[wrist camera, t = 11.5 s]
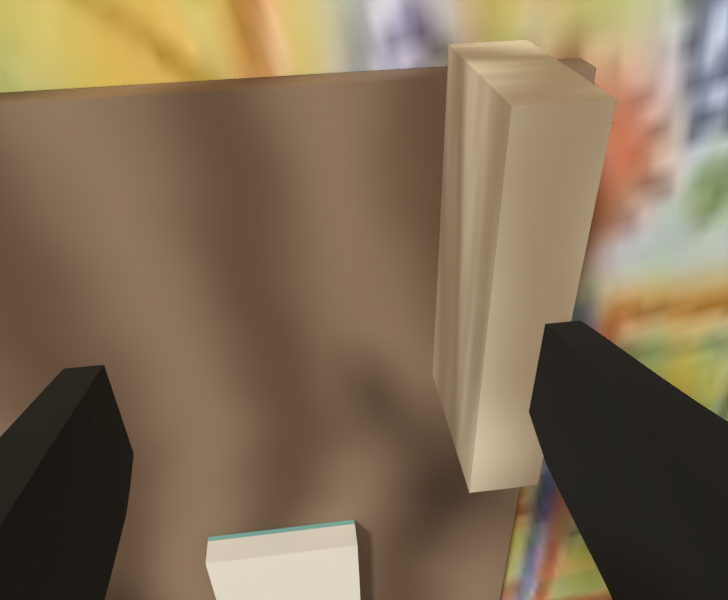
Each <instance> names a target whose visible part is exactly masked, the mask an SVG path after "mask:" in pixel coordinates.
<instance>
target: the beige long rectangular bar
mask: <svg viewBox="0 0 728 600" xmlns="http://www.w3.org/2000/svg"><path fill="white" fill-rule="evenodd" d="M616 101H617V99H615V98H614V97H612V96H611V95H609V94H608V93H606V92H605V91H603V90H602V89H600V88H599V87H597V86H596V85H594V84H593V83H591V82H590V81H588V80H587V79H585V78H584V77H582V76H581V75H579V74H578V73H576V72H575V71H573V70H572V69H570V68H569V67H567V66H566V65H564V64H563V63H561V62H560V61H558V60H557V59H555V58H553V57H552V56H550V55H549V54H547V53H546V52H544V51H543V50H541V49H540V48H538V47H537V46H535V45H534V44H532V43H531V42H529V41H528V40H516V41H498V42H480V43H463V44H449V51H448V72H447V92H446V113H445V134H444V154H443V175H442V195H441V216H440V236H439V257H438V278H437V298H436V319H435V339H434V360H433V379H434V382H435V385H436V388H437V391H438V394H439V398H440V401H441V404H442V407H443V410H444V413H445V417H446V420H447V423H448V426H449V429H450V433H451V436H452V439H453V442H454V445H455V448H456V452H457V455H458V458H459V461H460V464H461V468H462V471H463V474H464V477H465V480H466V483H467V487H468V490H469V493H473V492H481V491H490V490H498V489H507V488H515V487H524V486H532V485H538V481H539V476H540V471H541V466H542V461H543V457H544V455H543V453H542V450H541V447H540V444H539V442H538V439H537V435H536V432H535V429H534V426H533V423H532V420H531V417H530V414H529V408H530V403H531V397H532V392H533V386H534V381H535V376H536V370H537V365H538V360H539V354H540V349H541V343H542V338H543V333H544V327H545V324H548V323H559V322H570V321H571V320H572V315H573V310H574V305H575V300H576V296H577V291H578V286H579V281H580V276H581V271H582V266H583V261H584V257H585V252H586V247H587V242H588V237H589V232H590V227H591V222H592V218H593V213H594V208H595V203H596V198H597V193H598V188H599V183H600V179H601V174H602V169H603V164H604V159H605V154H606V149H607V144H608V140H609V135H610V130H611V125H612V120H613V115H614V110H615V105H616Z"/></svg>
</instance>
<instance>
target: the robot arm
mask: <svg viewBox="0 0 728 600" xmlns="http://www.w3.org/2000/svg"><path fill="white" fill-rule="evenodd" d="M529 414H530V417H531V420H532V423H533V426H534V429H535V432H536V435H537V439H538V442H539V444H540V447H541V450H542V453H543V455H544V458H545V461H546V464H547V466H548V468H549V470H550V472H551V475H552V477H553V479H554V481H555V483H556V485H557V487H558V489H559V491H560V493H561V495H562V497H563V499H564V501H565V503H566V505H567V507H568V509H569V511H570V513H571V515H572V517H573V519H574V521H575V523H576V525H577V527H578V529H579V531H580V533H581V535H582V537H583V539H584V541H585V543H586V545H587V547H588V549H589V551H590V553H591V555H592V557H593V559H594V561H595V563H596V565H597V567H598V569H599V571H600V573H601V575H602V577H603V579H604V581H605V583H606V586H607V588H608V590H609V592H610V594H611V597H612V599H613V600H728V421H726V420H724V419H723V418H721V417H719V416H718V415H716V414H715V413H713V412H712V411H710V410H709V409H707V408H706V407H704V406H703V405H701V404H700V403H698V402H697V401H695V400H694V399H692V398H691V397H689V396H688V395H686V394H685V393H683V392H682V391H680V390H679V389H677V388H676V387H674V386H673V385H672V384H670V383H669V382H667V381H666V380H664V379H663V378H661V377H660V376H659V375H657V374H656V373H654V372H653V371H652V370H650V369H649V368H647V367H646V366H645V365H643V364H642V363H640V362H639V361H637V360H636V359H635V358H633V357H632V356H630V355H629V354H628V353H626V352H625V351H623V350H622V349H621V348H619V347H618V346H617V345H615V344H614V343H612V342H611V341H609V340H608V339H607V338H605V337H604V336H602V335H601V334H600V333H598V332H597V331H595V330H594V329H592V328H591V327H589V326H588V325H586V324H585V323H583V322H581V321H570V322H559V323H548V324H545V327H544V333H543V338H542V343H541V349H540V354H539V360H538V365H537V370H536V376H535V381H534V386H533V392H532V397H531V403H530V408H529ZM133 457H134V453H133V450H132V447H131V444H130V441H129V438H128V435H127V432H126V429H125V426H124V423H123V420H122V417H121V414H120V411H119V408H118V405H117V402H116V399H115V396H114V393H113V390H112V387H111V384H110V381H109V378H108V375H107V372H106V369H105V366H104V365H96V366H85V367H74V368H64V369H63V370H62V371H61V372H60V373H59V374H58V375H57V376H56V377H55V378H54V379H53V380H52V381H51V383H50V384H49V385H48V386H47V387H46V388H45V389H44V390H43V391H42V392H41V393H40V394H39V395H38V397H37V398H36V399H35V400H34V401H33V402H32V403H31V404H30V405H29V406H28V407H27V409H26V410H25V411H24V412H23V413H22V414H21V415H20V416H19V417H18V418H17V419H16V420H15V421H14V423H13V424H12V425H11V426H10V427H9V428H8V429H7V430H6V431H5V432H4V433H3V434H2V435H1V436H0V600H105V597H106V593H107V589H108V585H109V581H110V578H111V574H112V570H113V566H114V562H115V558H116V554H117V550H118V546H119V542H120V538H121V534H122V530H123V526H124V522H125V518H126V514H127V507H128V499H129V492H130V484H131V475H132V466H133Z"/></svg>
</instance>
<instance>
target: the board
mask: <svg viewBox="0 0 728 600" xmlns="http://www.w3.org/2000/svg"><path fill="white" fill-rule="evenodd" d="M558 61H560V62H561V63H563V64H564V65H566V66H567V67H569V68H570V69H572V70H573V71H575V72H576V73H578V74H579V75H581V76H582V77H584V78H585V79H587V80H588V81H590V82H591V83H594V78H595V72H596V67H594V66H592V65H591V64H589V63H588V62H586V61H584V60H583V59H581V58H580V59H563V60H558ZM447 72H448V66H445V67H428V68H412V69H395V70H378V71H361V72H344V73H327V74H310V75H294V76H277V77H260V78H243V79H226V80H209V81H193V82H176V83H159V84H142V85H125V86H108V87H91V88H75V89H58V90H41V91H24V92H7V93H0V436H1V435H2V434H3V433H4V432H5V431H6V430H7V429H8V428H9V427H10V426H11V425H12V424H13V423H14V421H15V420H16V419H17V418H18V417H19V416H20V415H21V414H22V413H23V412H24V411H25V410H26V409H27V407H28V406H29V405H30V404H31V403H32V402H33V401H34V400H35V399H36V398H37V397H38V395H39V394H40V393H41V392H42V391H43V390H44V389H45V388H46V387H47V386H48V385H49V384H50V383H51V381H52V380H53V379H54V378H55V377H56V376H57V375H58V374H59V373H60V372H61V371H62V370H63V369H64V368H74V367H85V366H96V365H104V366H105V369H106V372H107V375H108V378H109V381H110V384H111V387H112V390H113V393H114V396H115V399H116V402H117V405H118V408H119V411H120V414H121V417H122V420H123V423H124V426H125V429H126V432H127V435H128V438H129V441H130V444H131V447H132V450H133V453H134V457H133V466H132V475H131V484H130V492H129V499H128V507H127V514H126V518H125V522H124V526H123V530H122V534H121V538H120V542H119V546H118V550H117V554H116V558H115V562H114V566H113V570H112V574H111V578H110V581H109V585H108V589H107V593H106V597H105V600H216V597H215V594H214V590H213V587H212V584H211V580H210V577H209V574H208V570H207V567H206V554H207V544H208V537H213V536H222V535H230V534H238V533H247V532H255V531H264V530H272V529H280V528H289V527H297V526H306V525H314V524H322V523H331V522H339V521H348V520H354V521H355V529H356V537H357V545H358V563H359V582H360V600H500V596H501V591H502V585H503V580H504V574H505V568H506V563H507V557H508V552H509V546H510V541H511V535H512V530H513V524H514V519H515V513H516V508H517V502H518V497H519V491H520V487H515V488H507V489H498V490H490V491H481V492H473V493H469V490H468V487H467V483H466V480H465V477H464V474H463V471H462V468H461V464H460V461H459V458H458V455H457V452H456V448H455V445H454V442H453V439H452V436H451V433H450V429H449V426H448V423H447V420H446V417H445V413H444V410H443V407H442V404H441V401H440V398H439V394H438V391H437V388H436V385H435V382H434V379H433V360H434V339H435V319H436V298H437V278H438V257H439V236H440V216H441V195H442V175H443V154H444V134H445V113H446V92H447Z"/></svg>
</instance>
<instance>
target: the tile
mask: <svg viewBox="0 0 728 600" xmlns="http://www.w3.org/2000/svg"><path fill="white" fill-rule="evenodd" d="M206 567H207V570H208V574H209V577H210V580H211V584H212V587H213V590H214V594H215V597H216V600H360V582H359V563H358V545H357V537H356V529H355V521H354V520H348V521H339V522H331V523H322V524H314V525H306V526H297V527H289V528H280V529H272V530H264V531H255V532H247V533H238V534H230V535H222V536H213V537H208V544H207V554H206Z"/></svg>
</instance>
